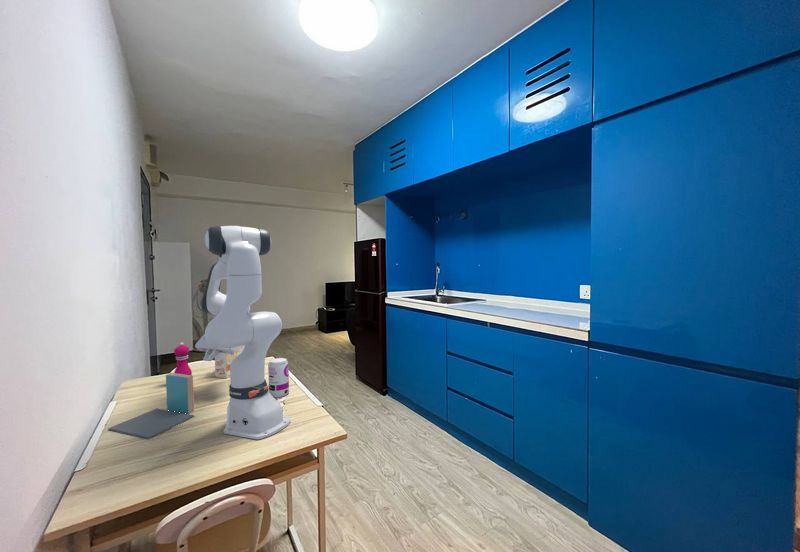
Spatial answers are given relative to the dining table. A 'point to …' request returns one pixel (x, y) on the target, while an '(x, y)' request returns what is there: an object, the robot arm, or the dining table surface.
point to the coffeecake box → (225, 363)
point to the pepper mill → (182, 360)
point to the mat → (151, 423)
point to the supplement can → (278, 377)
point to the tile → (180, 393)
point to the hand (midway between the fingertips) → (206, 360)
